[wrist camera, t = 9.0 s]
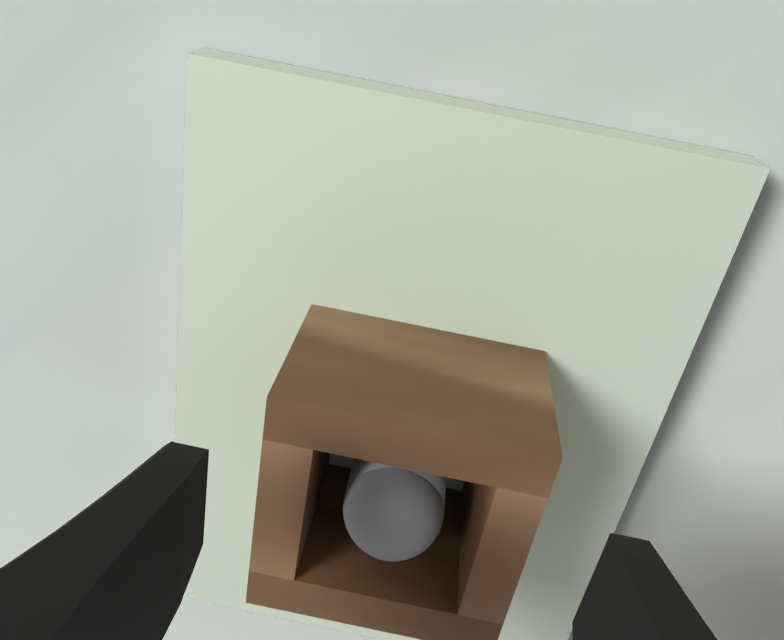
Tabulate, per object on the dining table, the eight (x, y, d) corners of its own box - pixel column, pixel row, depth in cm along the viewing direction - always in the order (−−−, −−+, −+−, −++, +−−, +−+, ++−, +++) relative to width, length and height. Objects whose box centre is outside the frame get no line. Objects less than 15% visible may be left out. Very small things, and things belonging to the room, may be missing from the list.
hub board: (549, 648, 23) (567, 820, 18) (181, 570, 23) (107, 721, 18) (753, 156, 15) (869, 241, 11) (204, 47, 15) (90, 86, 11)
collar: (490, 526, 19) (492, 654, 16) (288, 484, 19) (245, 602, 16) (545, 351, 17) (562, 457, 13) (311, 303, 17) (266, 396, 13)
